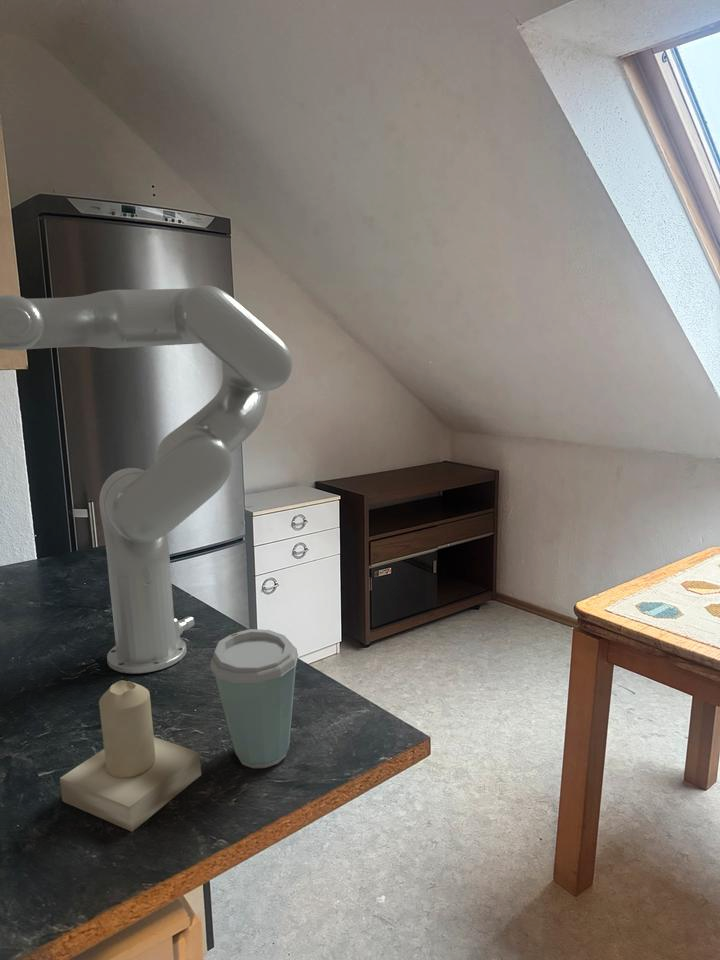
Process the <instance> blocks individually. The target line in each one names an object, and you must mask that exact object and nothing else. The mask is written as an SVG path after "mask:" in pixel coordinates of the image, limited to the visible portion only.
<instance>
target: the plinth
mask: <svg viewBox="0 0 720 960" xmlns="http://www.w3.org/2000/svg"><path fill="white" fill-rule="evenodd" d="M154 745H155V762H154V764H153V766H152V767H151V768H150V769H149V770H147V771H146V772H144V773H142V774H140V775H137V776H134V777H129V778H117V777H114V776H111V775H110V774H109V773H108V771H107V768H106V762H105V753H104V748H103V749H101V750H100V751H99V752H97V753H96V754H94V755H92V756H91V757H89V758H87V760H85V761H83V762H82V763H80V764H78V765H77V766H76V767H74V768H73V769H71V770H69V771H68V772H67V773H65V774H63V776H60V777H59V782H60V783H59V784H60V792H61V798H62V802H64V803H65V804H68V805H70V806H73V807H75V808H77V809H79V810H81V811H83V812H85V813H89V814H90V815H93V816H95V817H97V818H99V819H102V820H104V821H106V822H109V823H111V824H114V825H115V826H117V827H121V828H122V829H125V830H127V831H129V832H132V833H133V832H134V831H135V830H137V828H139V827H141V825H142V824H143V823H145V822H146V821H148V820H149V818H151V817H152V816H153V815H154V814H156V813H157V812H158V811H160V810H161V809H162V808H163V807H164V806H165V805H166V804H168V803H169V802H171V800H173V799H174V798H175V797H176V796H177V795H179V794H180V793H181V792H182V791H184V790H185V789H186V788H187V787H189V785H191V784H192V783H193V782H195V781H196V780H197V779H199V777H201V776H202V766H201V755H200V752H199V751H197V750H194V749H190V748H188V747H185V746H181V745H179V744H176V743H172V742H169V741H167V740H164V739H162V738H159V737H155V736H154Z"/></svg>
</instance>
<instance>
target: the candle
mask: <svg viewBox="0 0 720 960" xmlns="http://www.w3.org/2000/svg"><path fill="white" fill-rule="evenodd" d="M98 705H99V714H100V715H99V716H100V723H101V733H102V741H103V743H102V745H103V749H104V753H105V762H106V768H107V771H108V773H109V774H110V775H111V776H114V777H117V778H129V777H134V776H137V775H140V774H142V773H144V772H146V771H147V770H149V769H150V768H151V767H152V766H153V764H154V762H155V745H154V737H155V736H154V727H153V726H154V725H153V716H152V715H153V714H152V703H151V694H150V691H149V689H148V688H146V687H145V686H143V685H141V684H138V683H136V682H132V681H129V680H128V681H126V680H123V679H122V680H119V681H116V682H115V683H113V684H112V685H111V686H109V688H108V689H107V690H106V691H105V692H104V693H103V695H102V696H101V697H100V699H99V700H98Z"/></svg>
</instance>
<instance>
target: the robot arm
mask: <svg viewBox="0 0 720 960" xmlns="http://www.w3.org/2000/svg"><path fill="white" fill-rule="evenodd" d="M197 344H198V345H199V344H202V345H203V346H204V347H205V348H206V349H207V350H208V351H210V352H211V353H212V354H213V355H214V356H215V357H217V358H218V359H219V360H221V369H222V381H221V386H220V388H219V390H218V392H217V393H216V394H215V396H213V398H212V399H210V401H208V403H206V404H205V405H204V406H203V407H202V408H201V409H200V410H199V411H197V412H196V413H195V414H193V415H192V416H191V417H190V418H188V419H187V420H186V421H184V423H182V424H180V425H179V426H178V427H176V428H175V429H173V430H172V431H171V432H170V433H168V434H167V435H166V436H165V437H164V438H163V439H162V441H161V442H160V444H159V445H158V447H157V449H156V450H157V451H156V462H154V463H153V464H152V465H150V466H149V467H148V468H147V469H141V468H138V467H137V468H136V467H127V468H123V469H118V470H117V471H115V472H113V473H112V474H111V475H110V476H108V478H106V480H104V481H105V482H104V483H103V485H102V487H101V489H100V493H99V512H100V518H101V524H102V531H103V535H104V543H105V544H104V545H105V551H106V560H107V570H108V580H109V591H110V592H109V593H110V600H111V601H110V602H111V611H112V621H113V628H114V629H113V631H114V639H115V640H114V641H115V645H114V646H113V647H112V648H111V649H110V650H109V652H108V653H107V656H106V659H107V660H106V662H107V665H108V666H109V668H110V669H111V670H114V671H117V672H119V673H124V674H146V673H147V674H148V673H151V672H156V671H160V670H164V669H166V668H169V667H171V666H173V665H175V664H177V663H178V662H180V661H182V659H183V658H184V657H185V656H186V654H187V643H186V641H185V640H183V638H181V635H183V633H184V631H186V630H188V629H191V628H193V627H194V626H195V624H196V623H195V619H194V617H192V616H191V615H190V616H189V615H188V616H186V617H184V618H182V619H181V620H180V621H178V619H177V618H176V617H175V613H174V601H173V600H174V599H173V590H172V589H173V588H172V574H171V558H170V548H169V547H170V546H169V539H168V534H169V533H170V532H172V531H173V530H175V528H176V527H178V526H179V525H180V524H181V523H182V522H184V521H185V520H186V519H187V518H189V517H190V516H191V515H193V514H194V513H195V512H196V511H197V510H198V509H199V508H201V507H202V506H203V505H204V504H205V503H207V502H208V501H209V500H210V499H211V498H212V497H213V496H215V494H217V492H219V491H220V490H221V488H222V487H223V486H224V485H225V484H226V481H227V480H228V478H229V476H230V473H231V470H232V462H233V461H232V456H231V453H232V452H234V451H235V450H236V449H238V447H239V446H240V445H241V444H242V443H244V441H245V440H247V439H248V437H249V438H250V436H251V435H252V434H253V432H254V431H256V429H257V428H258V427H259V425H260V423H261V422H262V420H263V418H264V415H265V412H266V408H267V406H268V405H267V404H268V397H269V391H274V390H276V389H279V388H280V387H282V386H284V385H285V384H286V382H287V381H288V380H289V378H290V376H291V373H292V370H293V359H292V356H291V355H292V354H291V352H290V351H289V348H288V347H287V345H286V344H285V343H284V342H283V341H282V339H280V338H279V336H277V335H276V334H275V332H272V330H271V329H269V328H268V327H267V326H266V325H265V324H263V322H261V321H260V320H259V319H257V318H256V317H255V316H254V315H253V314H252V313H250V311H249V310H248V309H246V308H245V307H244V306H243V305H242V304H241V303H239V302H238V301H237V300H236V299H235V298H233V297H232V296H231V295H229V294H228V293H227V292H226V291H224V290H222V289H220V288H218V287H216V286H213V285H199V286H196V287H192V288H191V287H190V288H189V287H188V288H162V289H161V288H159V289H110V290H109V289H108V290H103V291H97V292H94V293H93V292H92V293H90V294H83V295H76V296H68V297H46V298H45V297H43V298H42V297H41V298H25V297H23V296H19V295H14V294H13V295H12V294H4V295H3V294H2V295H0V350H6V351H24V350H35V349H52V348H53V349H54V348H75V347H76V348H77V347H78V348H79V347H89V348H90V347H93V348H100V349H125V348H127V349H128V348H140V347H141V348H143V347H158V346H159V347H160V346H180V345H197Z"/></svg>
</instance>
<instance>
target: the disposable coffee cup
mask: <svg viewBox="0 0 720 960" xmlns="http://www.w3.org/2000/svg"><path fill="white" fill-rule="evenodd" d="M298 658H299V653H298V649H297V648H296V646H294V644H293V643H292V642H291V641H290V640H289V638H288V637H286V636H285V635H284V634H281V633H279V632H276V631H273V630H270V629H258V628H257V629H254V628H249V629H244V630H241V631H238V632H234V633H231V634H229V635H227V636H226V637H224V638H222V639H220V640H219V641H217V644H216V646H215V649H214V651H213V656H212V657H211V660H210V667H209V668H210V671H211V672H212V673H213V675H214V678H215V683H216V684H217V689H218V692H219V697H220V701H221V705H222V708H223V712H224V717H225V720H226V723H227V727H228V731H229V734H230V740H231V742H232V746H233V750H234V753H235V755H236V757H238V760H239V761H240V763H241V765H243V766H245V767H248V768H251V769H266V768H270V767H272V766H274V765H278V764H279V763H280V762H282V760H284V759H285V758H286V757H287V753H288V751H289V747H290V740H291V739H290V738H291V728H292V727H291V726H292V716H293V707H294V706H293V704H294V693H295V682H296V672H297V671H296V668H297V662H298Z"/></svg>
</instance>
